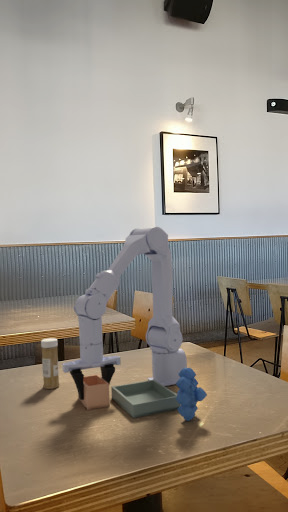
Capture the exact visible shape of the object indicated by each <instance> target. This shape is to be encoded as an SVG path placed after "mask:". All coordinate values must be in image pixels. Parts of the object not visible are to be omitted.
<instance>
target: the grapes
mask: <svg viewBox="0 0 288 512" xmlns="http://www.w3.org/2000/svg"><path fill="white" fill-rule="evenodd" d="M178 375H179V376H180V379H179V380H178V381H177V383H176V384H175V385H176V387H178V391H177V392H176V394H178V395H177V396H176V400H177V401H178V403H179V404H180V407H179V408H178V409H177V410H176V411H177V412H178V414H179V415H180V416H181V417H182V418H183V419H184V420H185V421H186V422H189V421H192V420H193V419H194V417H195V416H196V412H197V410H198V409H199V407H198V406H197V405H198V404H197V403H198V402H202V401H203V400H204V399H206V397H207V396H208V394H207V393H206V391H205V390H204V388H202V387H198V384H199V382H198V381H197V379H196V376H197V374H196V372H195V371H194V369H192V368H191V367H187V368H183V369H182V370H181V371H180V372H179V374H178Z"/></svg>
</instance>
